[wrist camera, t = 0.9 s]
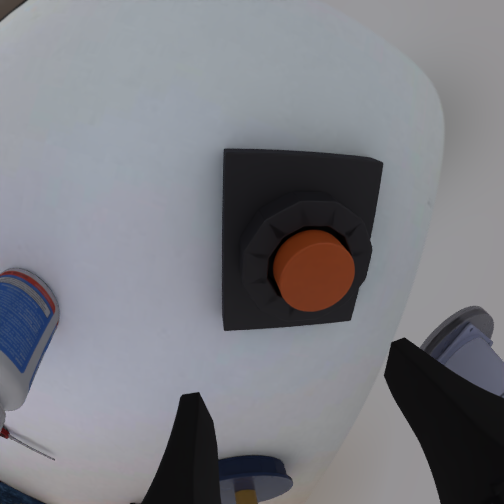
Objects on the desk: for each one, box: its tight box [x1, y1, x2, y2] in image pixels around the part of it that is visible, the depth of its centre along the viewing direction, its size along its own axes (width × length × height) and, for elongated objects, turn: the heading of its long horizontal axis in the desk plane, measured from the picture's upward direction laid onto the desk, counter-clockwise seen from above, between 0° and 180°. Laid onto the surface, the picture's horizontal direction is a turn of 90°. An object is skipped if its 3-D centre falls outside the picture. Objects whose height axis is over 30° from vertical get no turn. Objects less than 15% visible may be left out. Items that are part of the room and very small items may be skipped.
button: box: [273, 230, 355, 312], centre depth 14 cm, size 4×4×2 cm
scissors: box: [0, 427, 55, 460], centre depth 23 cm, size 5×14×1 cm, turn 49°
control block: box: [222, 149, 383, 331], centre depth 16 cm, size 10×8×3 cm
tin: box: [218, 456, 287, 477], centre depth 29 cm, size 10×10×2 cm
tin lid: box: [219, 472, 293, 504], centre depth 27 cm, size 11×11×4 cm
